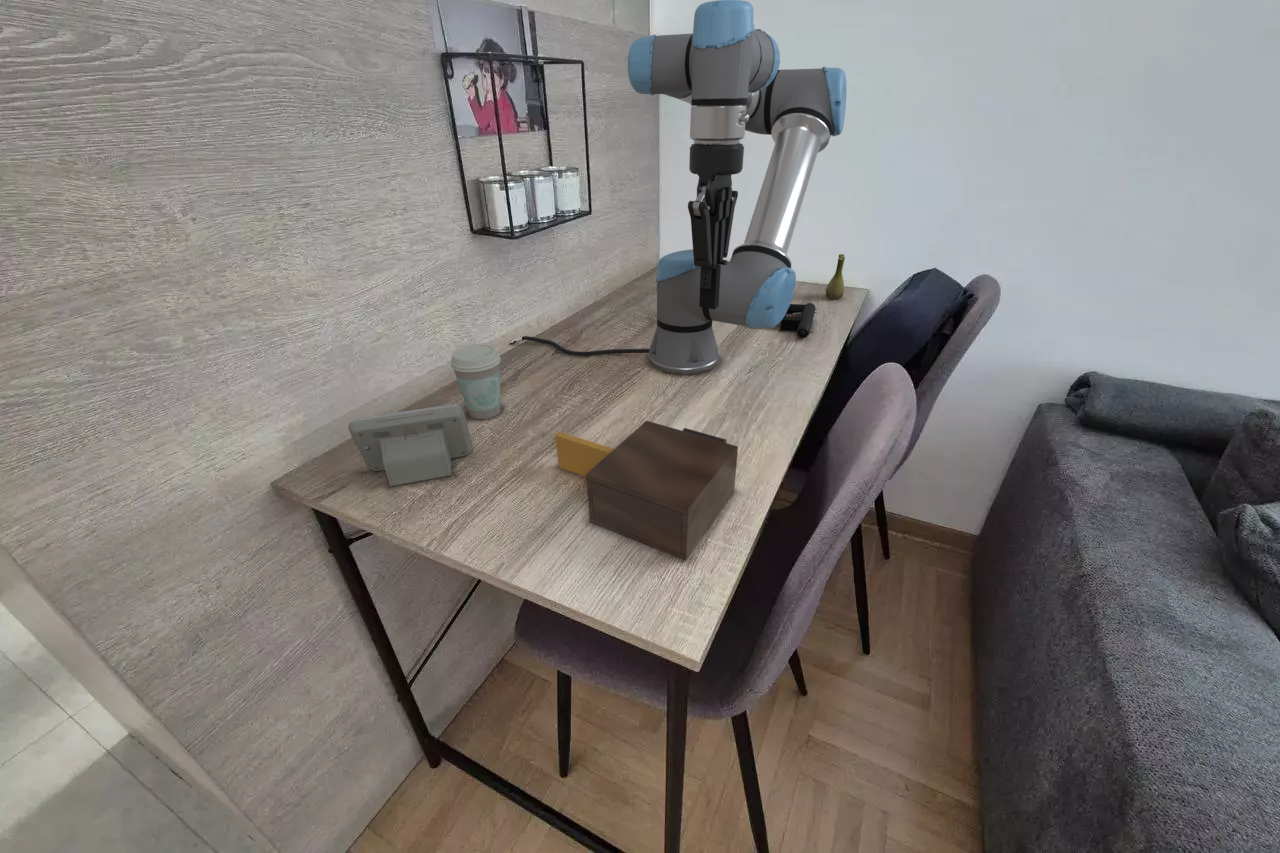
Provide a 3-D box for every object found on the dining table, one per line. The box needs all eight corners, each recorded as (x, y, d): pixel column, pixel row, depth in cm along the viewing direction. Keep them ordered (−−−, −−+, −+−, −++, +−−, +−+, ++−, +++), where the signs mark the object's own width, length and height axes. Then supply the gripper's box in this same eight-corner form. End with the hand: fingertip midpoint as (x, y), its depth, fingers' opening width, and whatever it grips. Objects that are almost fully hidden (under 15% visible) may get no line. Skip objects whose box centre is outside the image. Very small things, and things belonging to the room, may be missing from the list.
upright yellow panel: (558, 467, 85) (554, 435, 82) (563, 463, 86) (559, 431, 83) (612, 486, 81) (610, 453, 78) (616, 482, 82) (614, 449, 78)
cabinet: (646, 464, 85) (646, 420, 81) (734, 493, 79) (738, 446, 75) (589, 522, 74) (585, 474, 70) (686, 561, 67) (688, 510, 63)
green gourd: (835, 302, 151) (843, 258, 145) (820, 298, 154) (827, 255, 148) (846, 297, 154) (854, 254, 148) (831, 293, 158) (838, 251, 151)
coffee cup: (461, 426, 96) (447, 364, 90) (461, 404, 103) (449, 345, 97) (510, 419, 98) (500, 358, 92) (507, 398, 105) (498, 340, 99)
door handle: (744, 324, 130) (814, 328, 125) (758, 299, 146) (820, 301, 141) (744, 337, 132) (813, 341, 127) (757, 311, 148) (819, 314, 143)
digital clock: (478, 449, 90) (466, 392, 84) (468, 481, 82) (455, 421, 77) (377, 455, 89) (358, 398, 83) (358, 489, 81) (336, 428, 76)
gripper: (723, 145, 69) (713, 323, 81) (759, 139, 79) (745, 298, 91) (671, 144, 72) (669, 315, 85) (711, 138, 82) (704, 292, 94)
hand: (708, 306), depth 88 cm, fingers closed
